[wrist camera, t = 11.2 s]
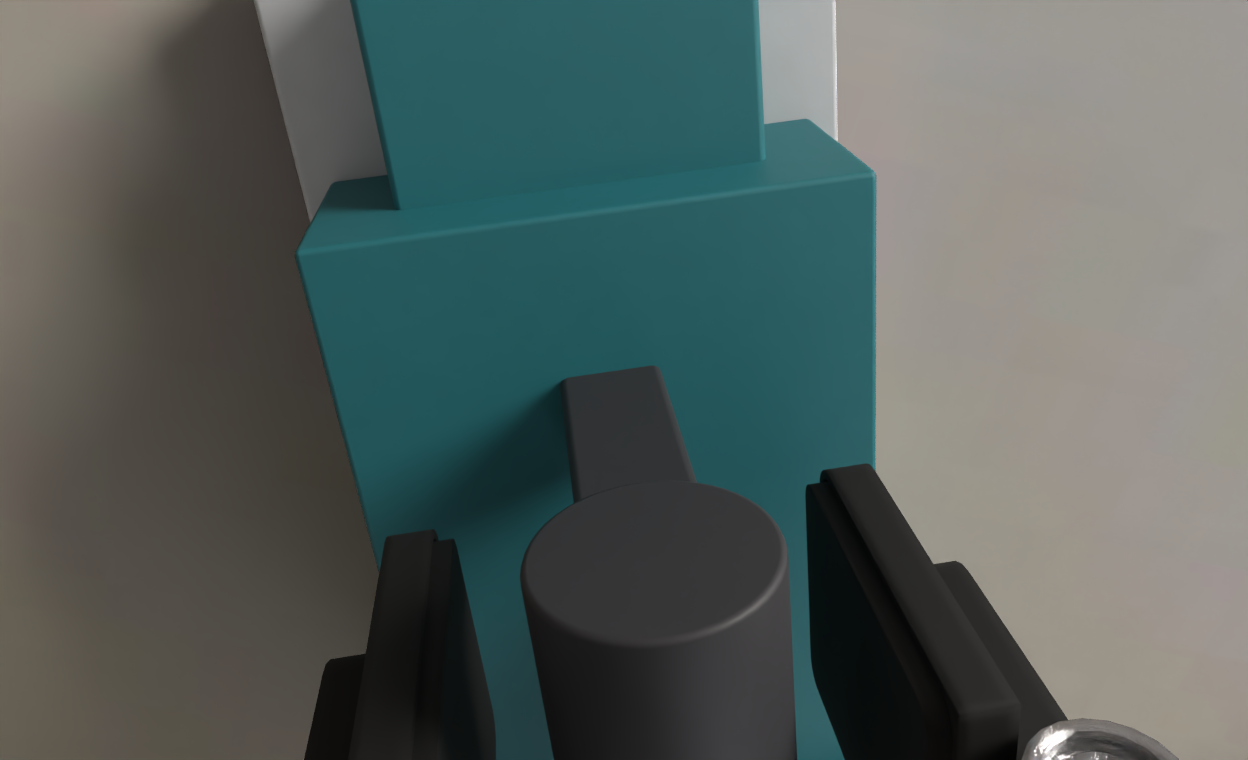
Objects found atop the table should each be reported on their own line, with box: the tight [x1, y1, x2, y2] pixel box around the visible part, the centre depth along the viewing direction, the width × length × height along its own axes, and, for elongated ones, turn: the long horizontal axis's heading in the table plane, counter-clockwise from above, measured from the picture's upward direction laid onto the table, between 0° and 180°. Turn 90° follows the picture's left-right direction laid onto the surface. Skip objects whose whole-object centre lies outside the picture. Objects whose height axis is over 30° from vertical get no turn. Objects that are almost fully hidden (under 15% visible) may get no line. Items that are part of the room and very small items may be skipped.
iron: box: [254, 0, 876, 760], centre depth 12 cm, size 13×7×9 cm, turn 6°
